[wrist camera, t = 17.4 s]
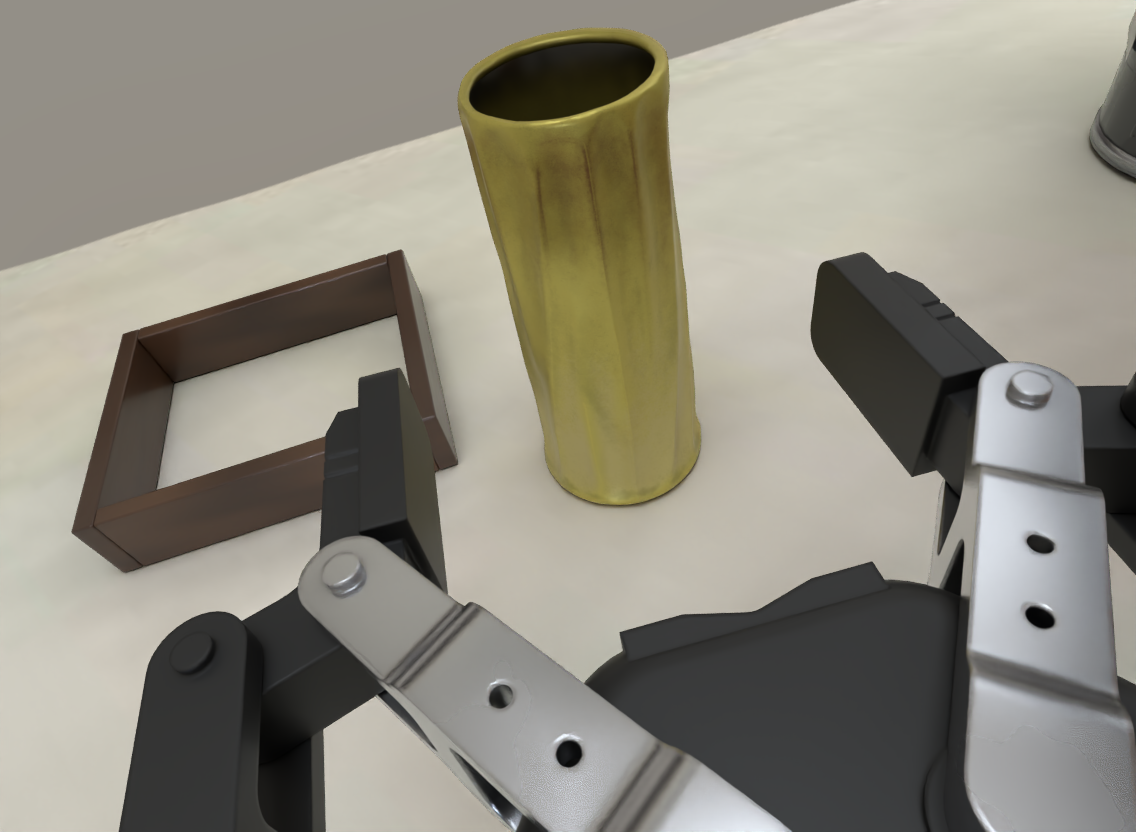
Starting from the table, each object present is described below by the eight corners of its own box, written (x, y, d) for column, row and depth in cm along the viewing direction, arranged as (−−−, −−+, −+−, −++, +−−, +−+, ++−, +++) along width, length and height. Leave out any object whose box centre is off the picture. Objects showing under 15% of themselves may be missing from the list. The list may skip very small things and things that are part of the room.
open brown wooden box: (422, 296, 36) (401, 248, 33) (458, 464, 28) (436, 415, 26) (160, 377, 35) (121, 333, 33) (123, 573, 27) (69, 533, 25)
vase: (573, 531, 25) (466, 165, 14) (526, 416, 29) (417, 63, 18) (729, 472, 26) (736, 78, 15) (662, 367, 30) (630, -1, 19)
